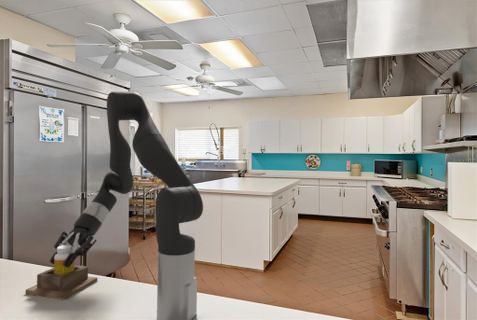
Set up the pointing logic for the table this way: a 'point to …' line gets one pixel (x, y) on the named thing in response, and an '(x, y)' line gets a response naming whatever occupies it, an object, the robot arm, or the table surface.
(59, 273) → the supplement bottle
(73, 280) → the box
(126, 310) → the table surface
